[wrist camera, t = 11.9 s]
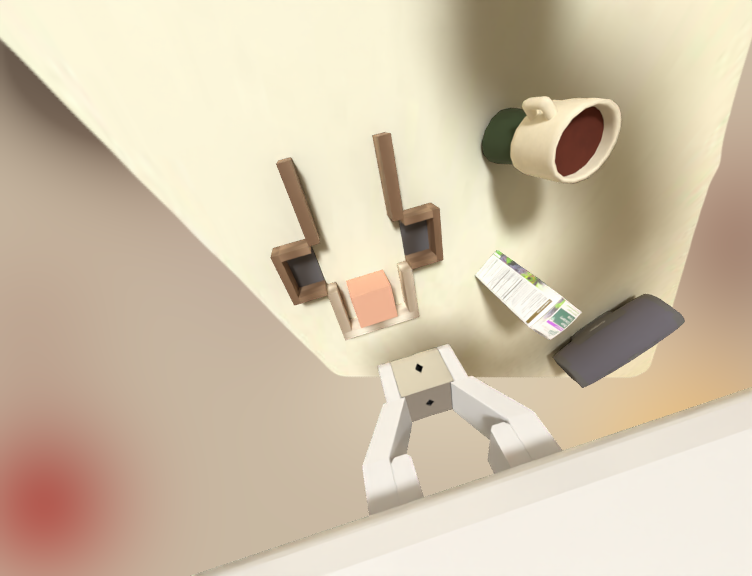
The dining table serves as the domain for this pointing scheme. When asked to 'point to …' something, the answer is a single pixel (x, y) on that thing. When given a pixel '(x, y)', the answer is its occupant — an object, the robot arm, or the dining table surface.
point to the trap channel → (299, 257)
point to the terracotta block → (372, 298)
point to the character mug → (554, 137)
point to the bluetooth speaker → (617, 338)
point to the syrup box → (527, 296)
